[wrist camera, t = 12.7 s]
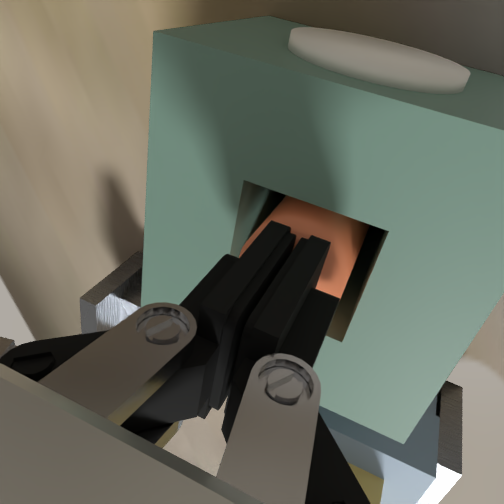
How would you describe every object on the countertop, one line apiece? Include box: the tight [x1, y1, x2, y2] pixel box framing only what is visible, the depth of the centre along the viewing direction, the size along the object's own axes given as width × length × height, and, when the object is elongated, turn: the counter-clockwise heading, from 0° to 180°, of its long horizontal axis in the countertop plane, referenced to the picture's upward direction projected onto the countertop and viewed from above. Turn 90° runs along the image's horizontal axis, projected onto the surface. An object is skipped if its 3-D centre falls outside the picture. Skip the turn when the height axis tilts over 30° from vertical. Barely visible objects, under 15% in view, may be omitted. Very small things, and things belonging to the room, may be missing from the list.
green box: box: [141, 16, 504, 444], centre depth 16 cm, size 10×10×8 cm
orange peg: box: [239, 195, 370, 301], centre depth 15 cm, size 3×3×8 cm
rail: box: [80, 252, 462, 504], centre depth 23 cm, size 4×19×5 cm, turn 79°
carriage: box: [319, 395, 440, 504], centre depth 19 cm, size 6×6×11 cm
